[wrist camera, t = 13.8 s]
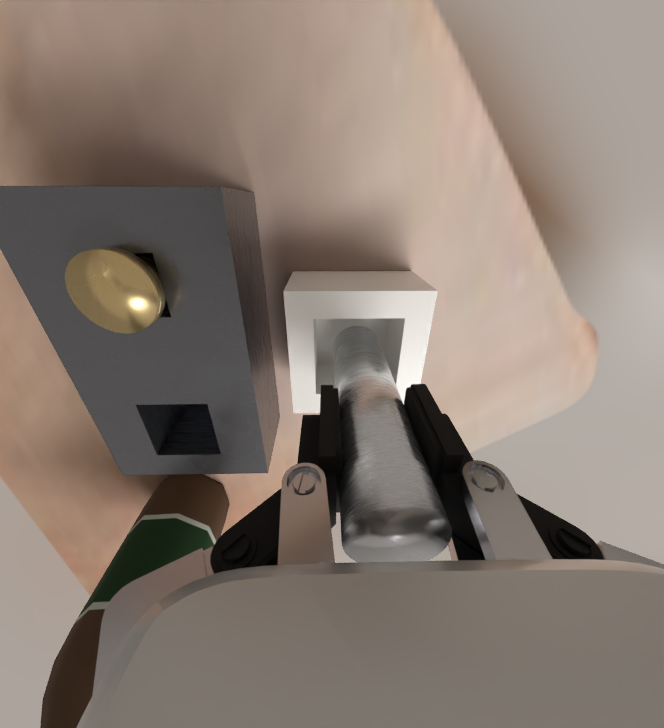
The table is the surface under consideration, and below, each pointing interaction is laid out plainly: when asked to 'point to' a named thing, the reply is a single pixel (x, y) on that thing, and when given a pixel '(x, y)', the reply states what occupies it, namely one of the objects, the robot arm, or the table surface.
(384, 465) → the silver rounded peg
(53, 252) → the socket block
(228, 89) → the table surface
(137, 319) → the key
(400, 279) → the holder
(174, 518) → the beer bottle
